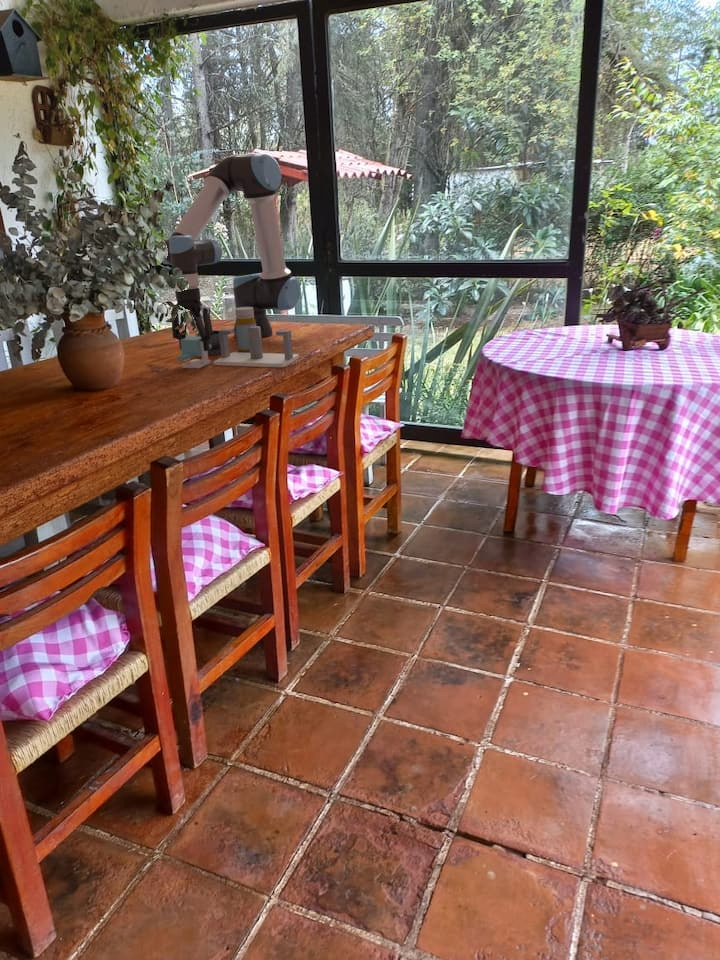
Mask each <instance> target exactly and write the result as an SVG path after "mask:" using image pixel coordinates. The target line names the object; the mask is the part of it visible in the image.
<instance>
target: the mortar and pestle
mask: <svg viewBox="0 0 720 960" xmlns="http://www.w3.org/2000/svg"><path fill="white" fill-rule="evenodd" d="M196 329H197V328H196ZM212 330H213V336H214V337H213V338H211V339H209V340H208V342H209V345H212V348H211V349H209V350H208V355H217V354H221V353H220V352H221V349H220V340H219V330H220V329H218V330H217V329H216V330H214V329H212ZM197 331H198V329H197ZM196 335H197V336H199V337H201V336H200V334H199V332H197V334H196Z"/></svg>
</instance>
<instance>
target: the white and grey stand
mask: <svg viewBox="0 0 720 960" xmlns="http://www.w3.org/2000/svg"><path fill="white" fill-rule="evenodd" d="M218 330H219V340H220V349H221V353H220V355H221V356H220V357H219V358H218V359H216V360H214V361H213V366H228V367H230V366H232V367H254V368H255V367H257V368H258V367H259V368H261V367H262V368H284V367H286V366H288V365H290V364H292V363H293V362H295V361H296V360H298V359H300V354H299V353H293V342H292V341H293V340H292V330H290V329H278V330H276V331H275V335H276V336H282V338H283V353H274V352H273V353H269V352H268V353H267V352H263V343H262V338H261V329H260V326H251V327H248V334H249V344H250V353H240V352H239V351H237V352H236V351H233V352H231V353H230V346H229V345H230V344H229V336H228V335H232V334H234V328H221V329H218Z"/></svg>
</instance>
